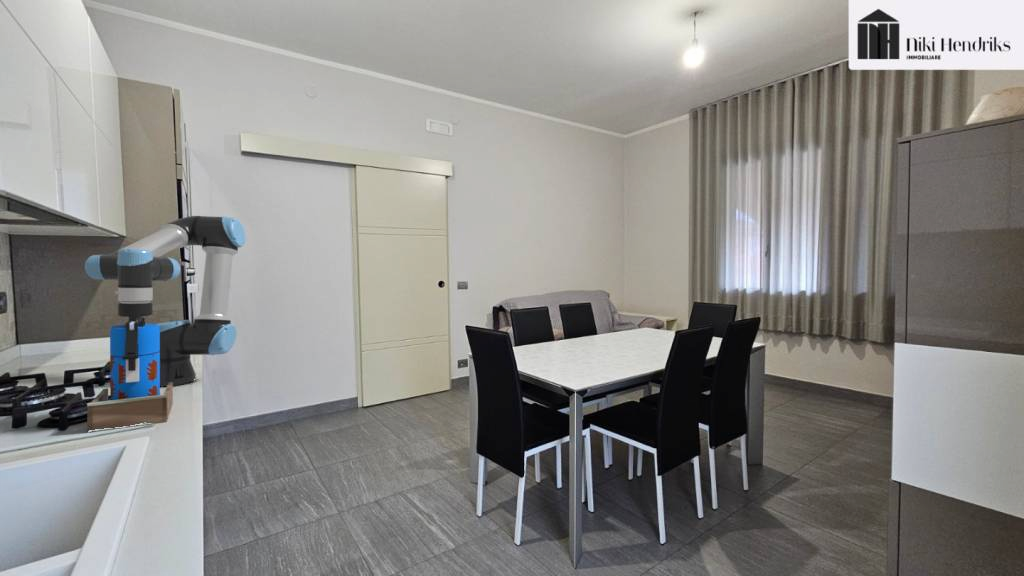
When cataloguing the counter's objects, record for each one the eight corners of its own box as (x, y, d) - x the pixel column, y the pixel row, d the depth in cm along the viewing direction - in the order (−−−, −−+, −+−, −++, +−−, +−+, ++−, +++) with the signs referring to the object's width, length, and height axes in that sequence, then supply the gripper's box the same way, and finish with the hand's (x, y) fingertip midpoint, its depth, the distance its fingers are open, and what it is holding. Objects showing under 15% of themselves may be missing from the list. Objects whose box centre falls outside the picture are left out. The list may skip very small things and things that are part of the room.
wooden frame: (103, 412, 125) (103, 386, 125) (172, 404, 134) (172, 380, 134) (87, 432, 109) (87, 404, 109) (166, 422, 118) (166, 395, 118)
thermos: (155, 402, 131) (155, 322, 130) (164, 410, 124) (163, 326, 123) (107, 410, 122) (106, 325, 121) (113, 419, 116) (113, 329, 115)
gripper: (125, 299, 129) (125, 370, 130) (109, 305, 110) (109, 388, 111) (157, 299, 134) (157, 367, 134) (146, 305, 115) (147, 384, 115)
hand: (135, 377), depth 123 cm, fingers closed on thermos, 11 cm apart
